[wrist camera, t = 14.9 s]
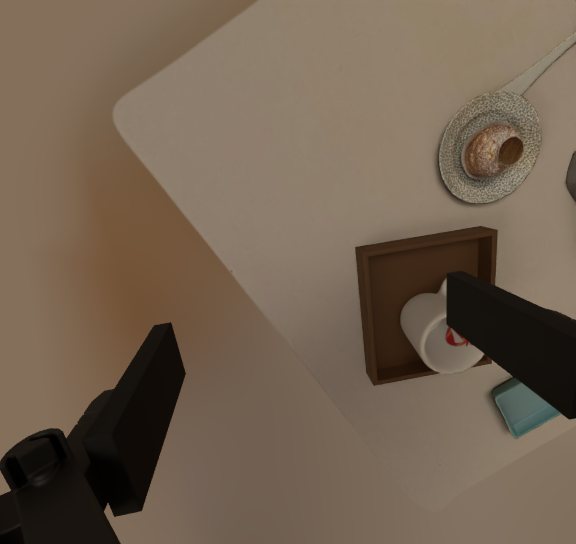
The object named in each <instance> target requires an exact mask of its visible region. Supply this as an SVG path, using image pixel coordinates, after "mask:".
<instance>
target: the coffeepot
mask: <svg viewBox="0 0 576 544" xmlns="http://www.w3.org/2000/svg"><path fill="white" fill-rule="evenodd" d="M567 186H568V189H569V191H570V194H571V195H572V196H573V198H574V199H575V200H576V152H575V154H574V156H573V158H572V160H571V162H570V165H569V168H568V173H567Z"/></svg>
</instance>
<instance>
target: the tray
mask: <svg viewBox="0 0 576 544" xmlns="http://www.w3.org/2000/svg"><path fill="white" fill-rule="evenodd" d="M497 231H498V230H495V229H491V228H487V227H482V226H479V227H473V228H467V229H461V230H455V231H449V232H443V233H437V234H431V235H425V236H419V237H413V238H407V239H401V240H396V241H390V242H384V243H378V244H372V245H366V246H360V247H355V249H356V261H357V272H358V283H359V295H360V306H361V317H362V328H363V340H364V351H365V362H366V373H367V374H368V376H369V378H370V380H371V382H372V383H373V385H374V386H375V385H380V384H385V383H391V382H396V381H401V380H407V379H412V378H417V377H423V376H428V375H433V374H439V372H436V371H434V370H432V369H431V368H429V367H428V366H427V365H426V364H425V363H424V361H423V360H422V359H421V357H420V356H419V354H418V353H417V351H416V350H415V348H414V347H413V345H412V344H411V342H410V341H409V339H408V338H407V336H406V335H405V333H404V331H403V329H402V327H401V323H400V316H401V311H402V309H403V307H404V305H405V304H406V303H407V302H408V301H409V300H410V299H411V298H413V297H414V296H416V295H419V294H423V293H433V294H437V293H438V292H439V290H440V288H441V286H442V283H443V282H444V280H445V279H446V278H447V273H450V272H456V271H461V270H462V271H464V272H466V273H468V274H471V275H473V276H475V277H477V278H479V279H481V280H484V281H486V282H488V283H490V284H492V285H494V286H495V276H496V254H497ZM491 363H492V359H490V358H489V357H488V356H486V355H485V354H484V355H483V357H482V358H481V359H480V360H479V361H478V362H477V363H476V364H475V365H473V366H472V367H476V366H481V365H486V364H491Z"/></svg>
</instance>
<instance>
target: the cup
mask: <svg viewBox="0 0 576 544" xmlns="http://www.w3.org/2000/svg"><path fill="white" fill-rule="evenodd" d="M446 284H447V278H446V279H445V280H444V282H443V283H442V286H441V288H440V290H439V292H438V293H437V294H433V293H423V294H419V295H416V296H414V297H413V298H411V299H410V300H409V301H408V302H407V303H406V304H405V305H404V307H403V309H402V311H401V316H400V323H401V327H402V329H403V331H404V333H405V335H406V336H407V338H408V339H409V341H410V342H411V344H412V345H413V347H414V348H415V350H416V351H417V353H418V354H419V356H420V357H421V359H422V360H423V361H424V363H425V364H426V365H427V366H428V367H429V368H431V369H432V370H434V371H436V372H439V373H443V374H454V373H459V372H462V371H465V370H467V369H469V368H470V367H472V366H473V365H475V364H476V363H477V362H478V361H479V360H480V359H481V358H482V357H483V355H484V353H483V352H481V351H480V350H479V349H477V348H476V347H475V346H473V345H472V344H471V343H470V342H468V341H467V340H466V339H464V338H463V337H462V336H461V335H459V334H458V333H457V332H455V331H454V330H453V329H452V328H450V327H449V326H448V325H446Z"/></svg>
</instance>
